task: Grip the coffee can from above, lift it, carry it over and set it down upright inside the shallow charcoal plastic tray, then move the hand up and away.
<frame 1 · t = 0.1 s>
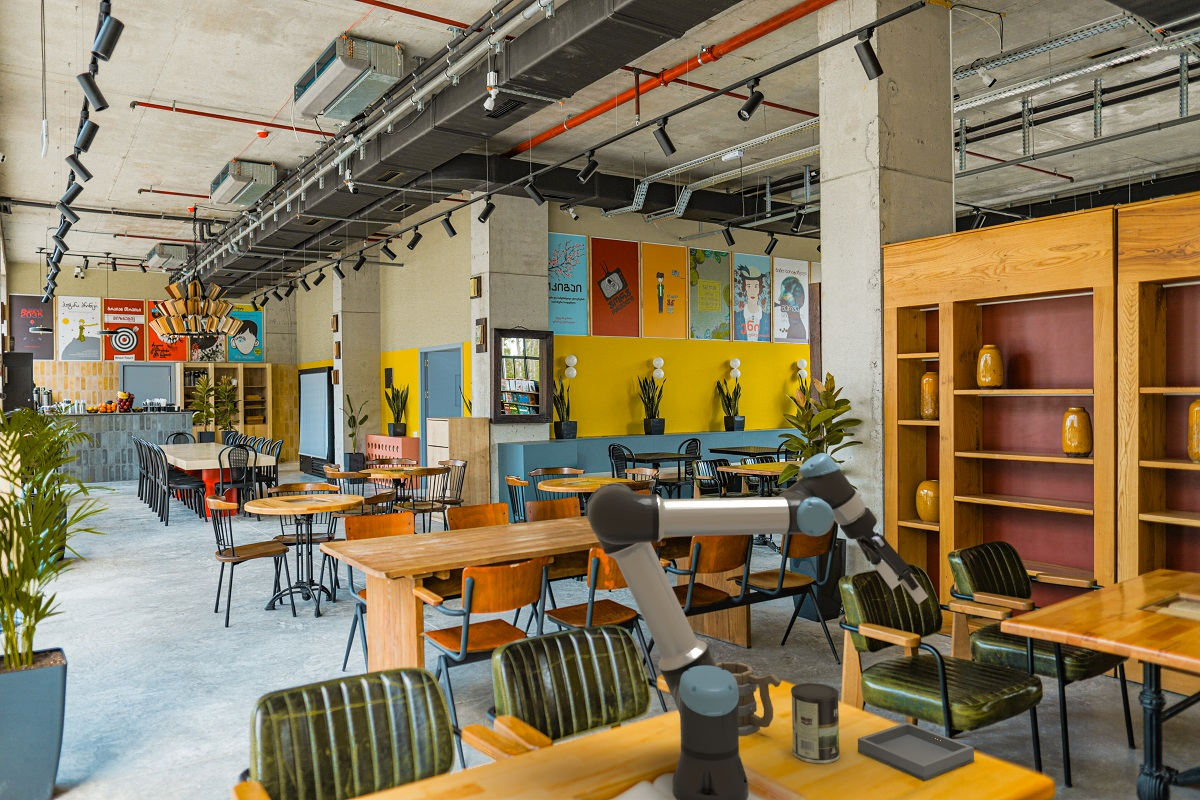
hand: (909, 592, 177), 36 cm above the table, tool tilted 35°, fingers open, 13 cm apart
coffee can: (815, 754, 178), on the table
tray: (915, 756, 176), on the table
tankard: (744, 730, 192), on the table
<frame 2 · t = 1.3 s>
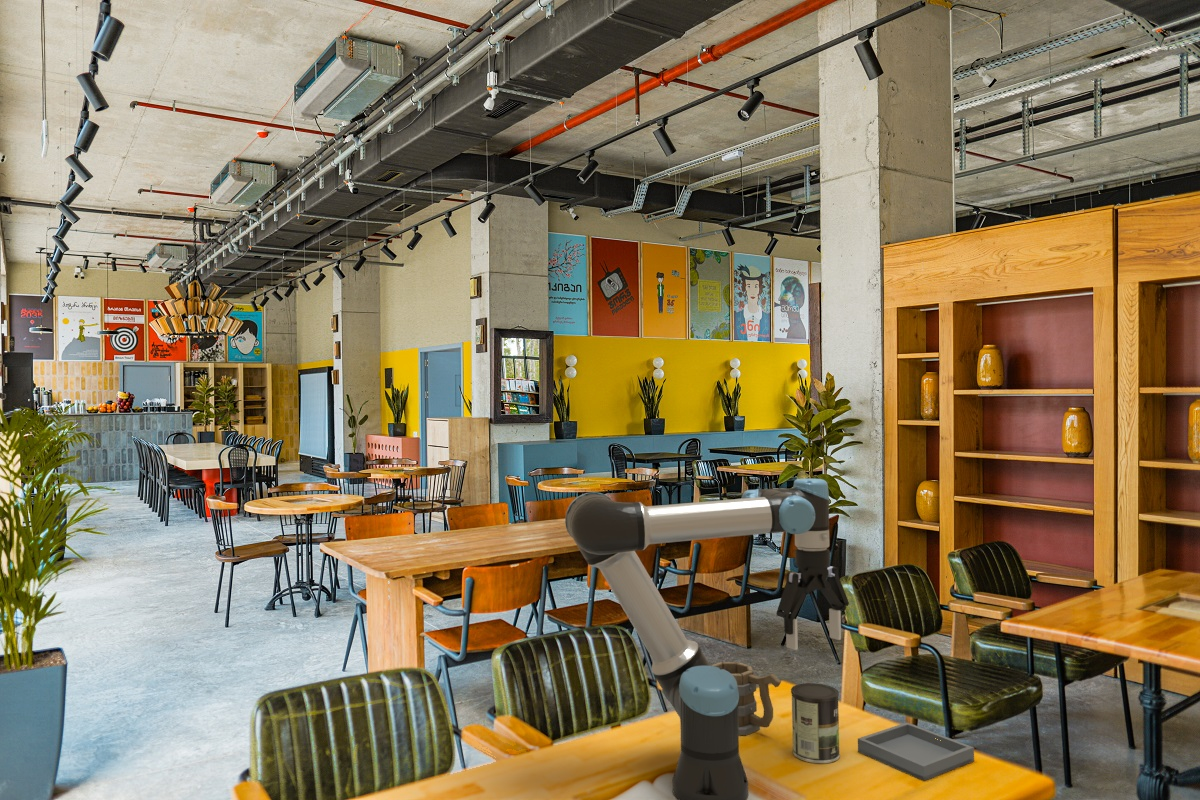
hand: (814, 643, 178), 24 cm above the table, tool pointing down, fingers open, 13 cm apart
nothing on the table moved.
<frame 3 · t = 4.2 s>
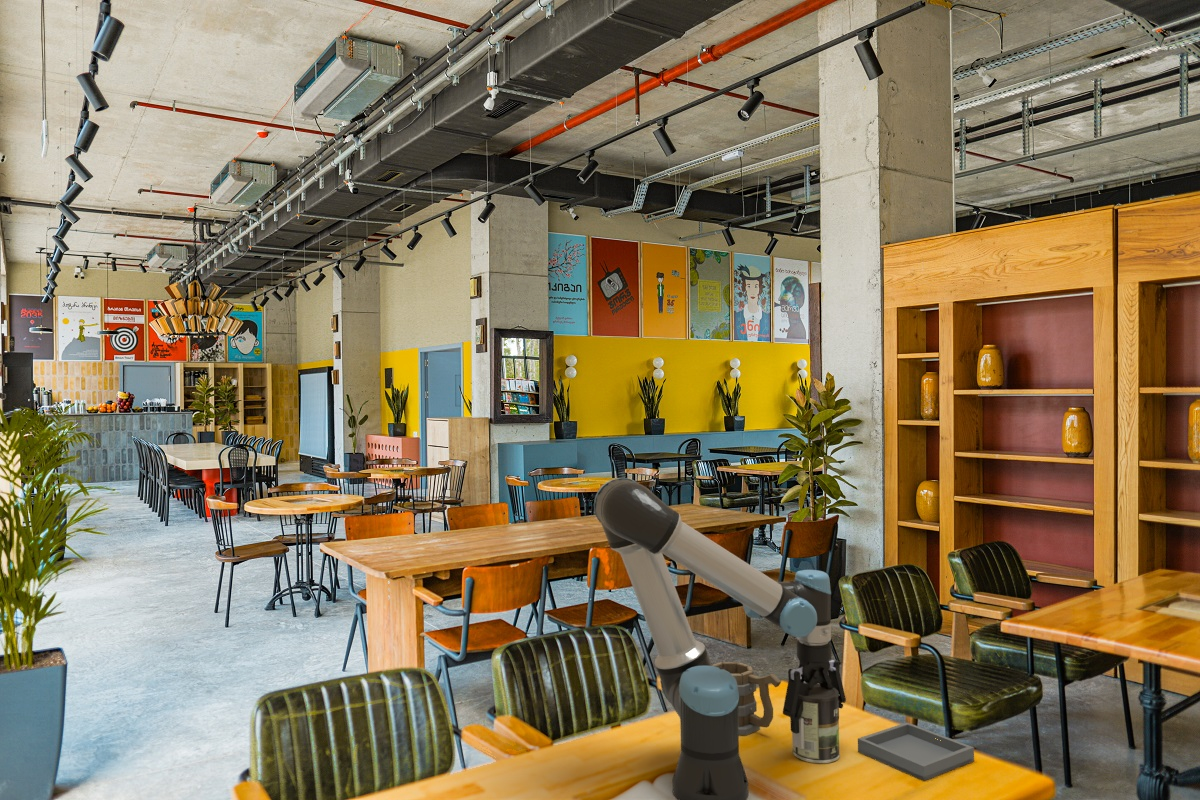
hand: (815, 741, 178), 3 cm above the table, tool pointing down, fingers closed on coffee can, 10 cm apart
coffee can: (815, 754, 178), on the table, touching gripper
everything else where it was.
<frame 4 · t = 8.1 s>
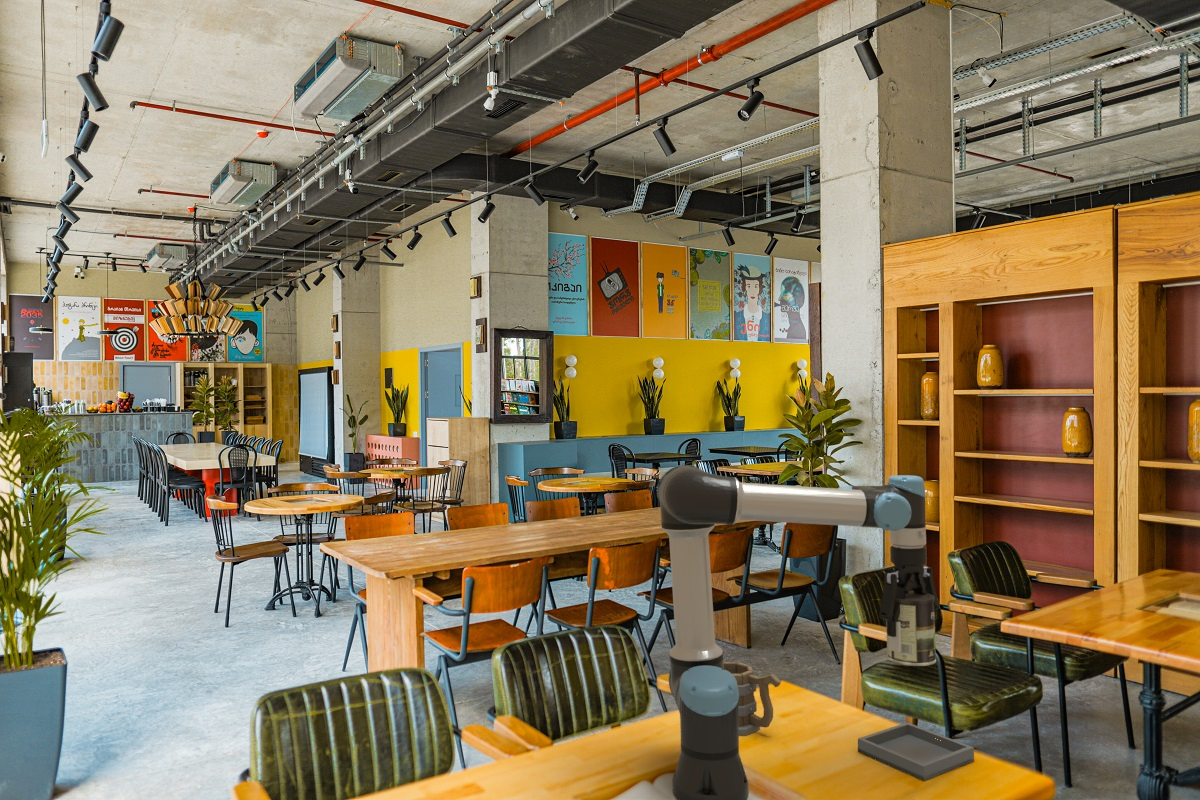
hand: (910, 646, 176), 24 cm above the table, tool pointing down, fingers closed on coffee can, 10 cm apart
coffee can: (911, 660, 176), point 21 cm above the table, touching gripper
everything else where it was.
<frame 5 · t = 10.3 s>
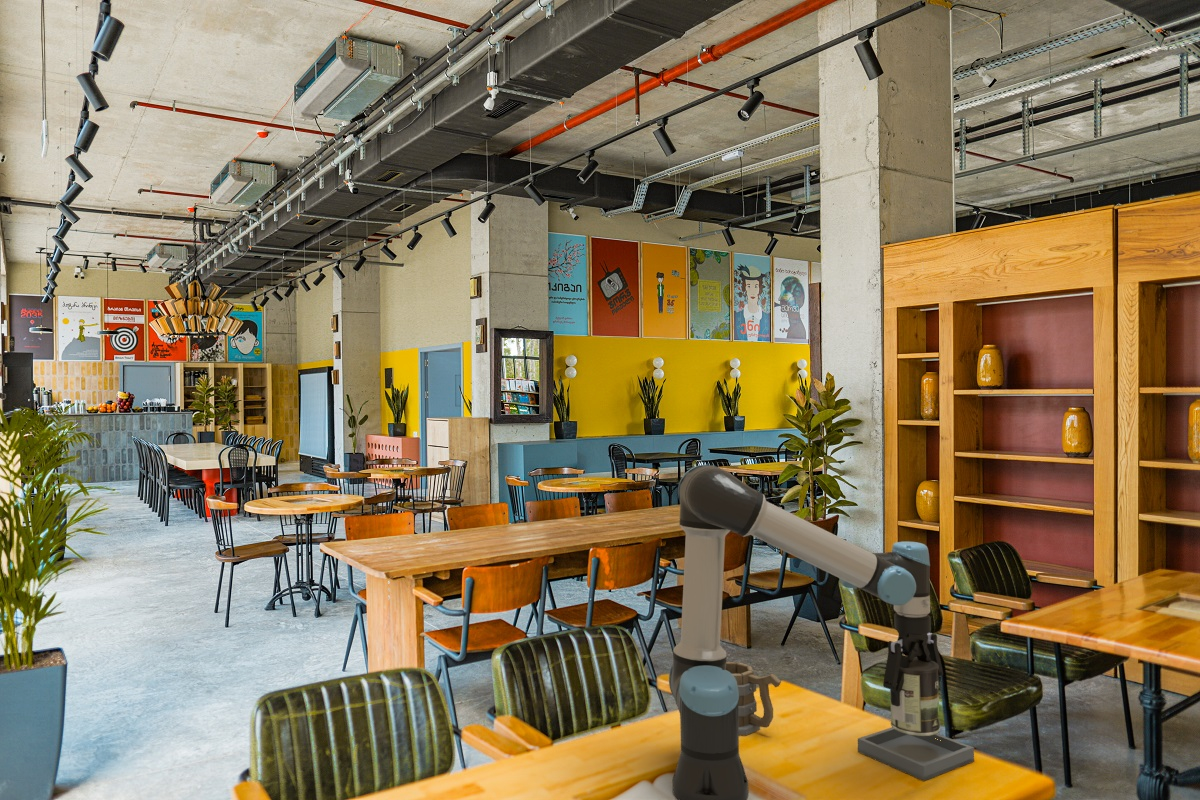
hand: (914, 714, 176), 9 cm above the table, tool pointing down, fingers closed on coffee can, 10 cm apart
coffee can: (914, 728, 176), point 6 cm above the table, touching gripper
everything else where it was.
when the fingers open (5 cm above the table, at t = 12.0 s): coffee can drops 1 cm, resting on tray.
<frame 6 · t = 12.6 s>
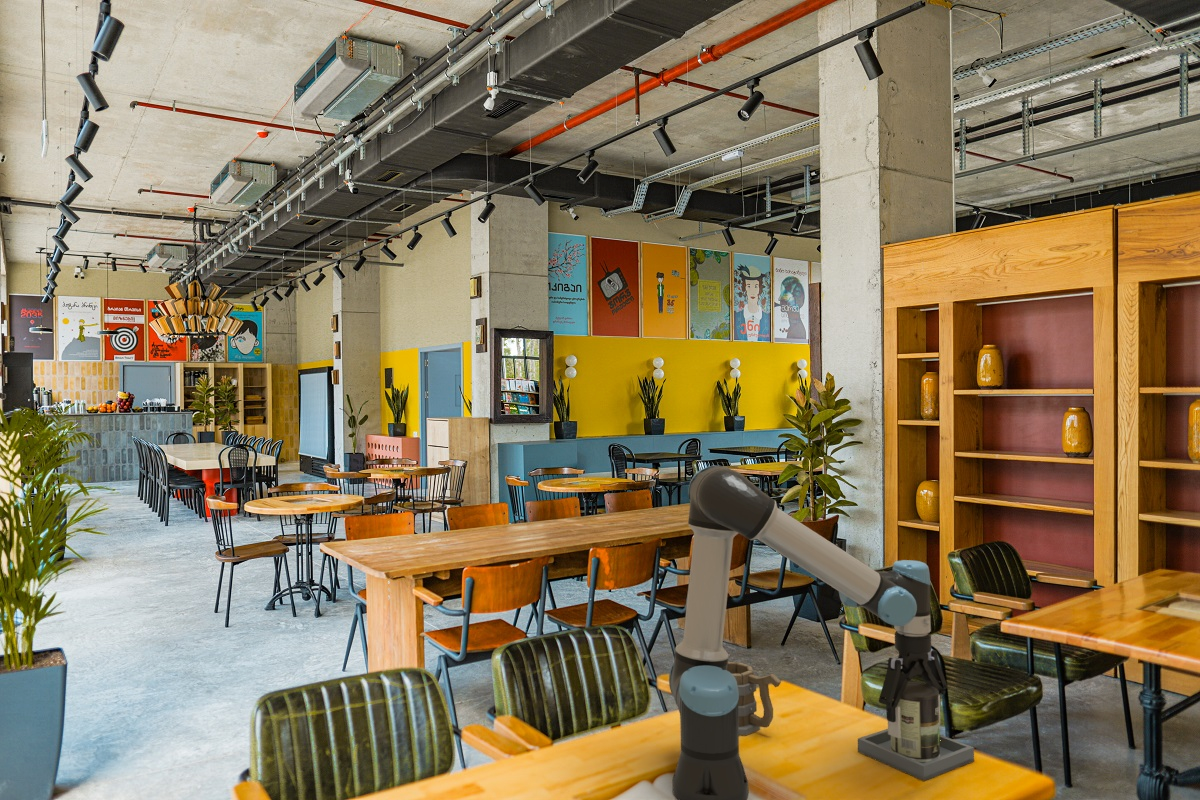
hand: (914, 729, 176), 6 cm above the table, tool pointing down, fingers open, 13 cm apart
coffee can: (914, 753, 176), point 1 cm above the table, touching tray
everything else where it was.
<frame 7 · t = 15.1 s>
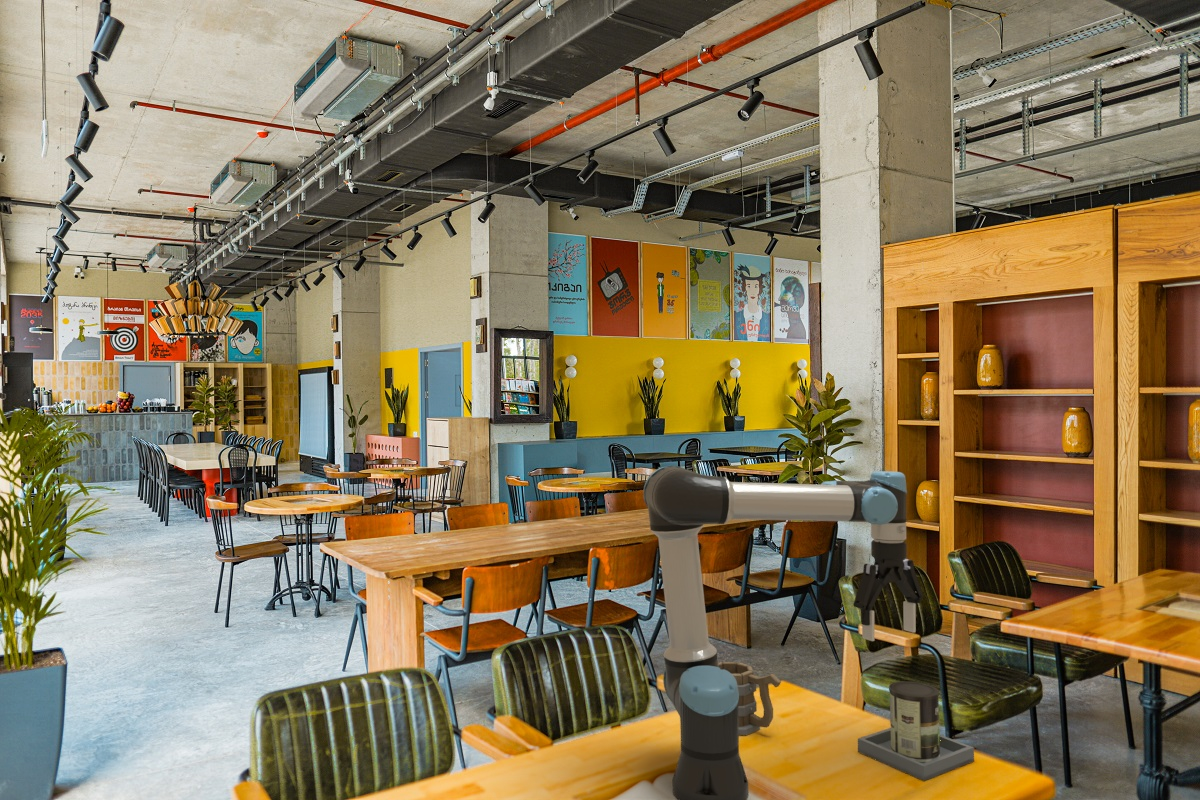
hand: (889, 635, 179), 26 cm above the table, tool pointing down, fingers open, 13 cm apart
nothing on the table moved.
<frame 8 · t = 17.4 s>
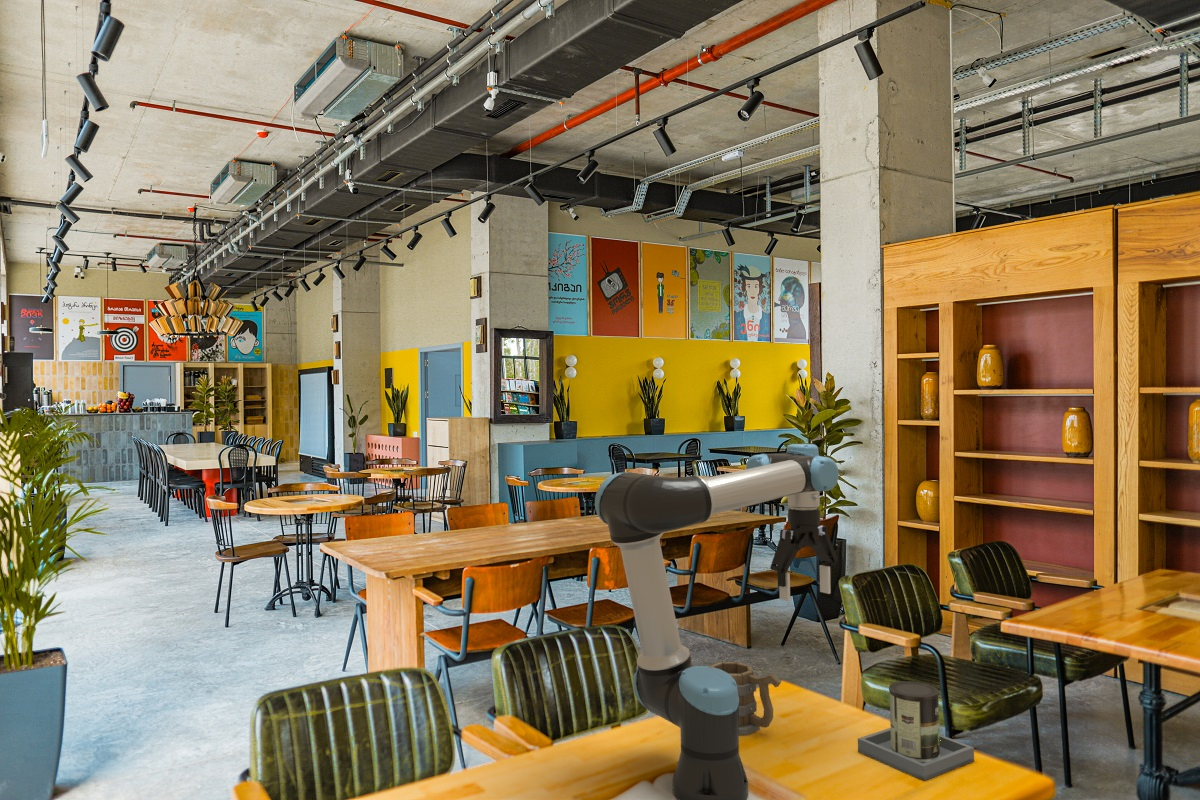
hand: (805, 596, 193), 32 cm above the table, tool pointing down, fingers open, 13 cm apart
nothing on the table moved.
at the end: coffee can inside the target area on the tray (0.0 cm from its centre), point 0.6 cm above the tray's base; coffee can tilted 0°; the gripper is holding nothing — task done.
